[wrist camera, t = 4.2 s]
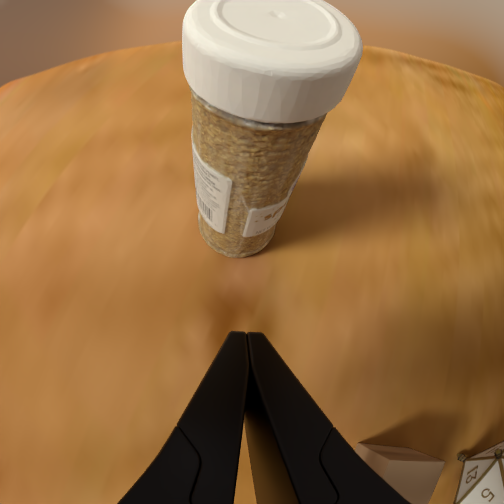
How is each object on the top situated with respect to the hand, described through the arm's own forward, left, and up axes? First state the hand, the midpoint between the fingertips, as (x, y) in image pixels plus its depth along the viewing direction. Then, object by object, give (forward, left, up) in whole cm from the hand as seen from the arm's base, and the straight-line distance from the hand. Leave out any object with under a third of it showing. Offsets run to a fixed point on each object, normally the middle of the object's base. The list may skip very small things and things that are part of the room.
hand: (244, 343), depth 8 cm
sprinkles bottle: (+6, +3, -9) cm, 12 cm away
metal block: (-3, -12, -9) cm, 15 cm away
